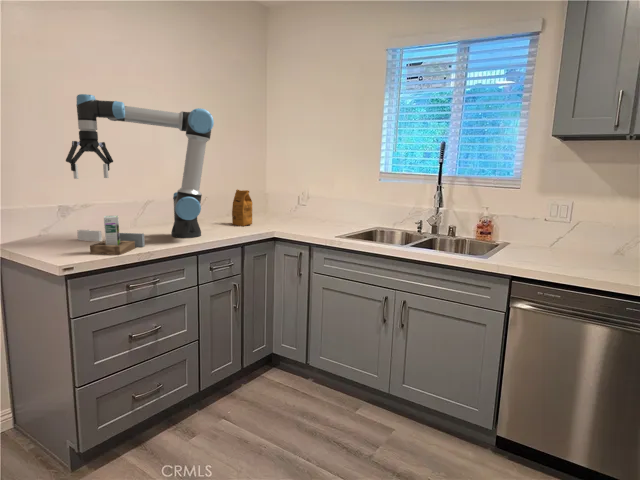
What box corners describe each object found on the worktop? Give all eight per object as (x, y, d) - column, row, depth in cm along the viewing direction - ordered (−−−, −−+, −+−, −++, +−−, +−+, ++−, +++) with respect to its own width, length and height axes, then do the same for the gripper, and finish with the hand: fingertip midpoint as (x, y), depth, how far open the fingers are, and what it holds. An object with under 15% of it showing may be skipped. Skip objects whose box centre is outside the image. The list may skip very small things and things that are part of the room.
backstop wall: (144, 246, 205) (144, 233, 204) (142, 247, 203) (141, 234, 202) (111, 245, 206) (110, 232, 205) (109, 245, 204) (108, 233, 203)
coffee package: (242, 223, 284) (241, 188, 280) (254, 225, 276) (254, 190, 272) (229, 224, 277) (228, 189, 273) (242, 226, 269) (241, 190, 265)
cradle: (135, 248, 199) (134, 241, 198) (120, 254, 186) (119, 246, 185) (107, 247, 200) (106, 240, 199) (90, 253, 187) (89, 245, 186)
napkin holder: (108, 241, 217) (107, 230, 216) (83, 244, 208) (82, 232, 207) (95, 237, 227) (95, 226, 226) (71, 240, 218) (70, 228, 217)
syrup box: (105, 250, 189) (103, 217, 186) (106, 248, 194) (103, 215, 192) (120, 249, 191) (118, 216, 189) (120, 247, 196) (118, 214, 194)
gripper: (110, 132, 210) (113, 177, 214) (54, 129, 191) (58, 178, 194) (119, 132, 206) (122, 178, 210) (62, 128, 186) (66, 179, 190)
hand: (91, 178), depth 202 cm, fingers open, 13 cm apart
